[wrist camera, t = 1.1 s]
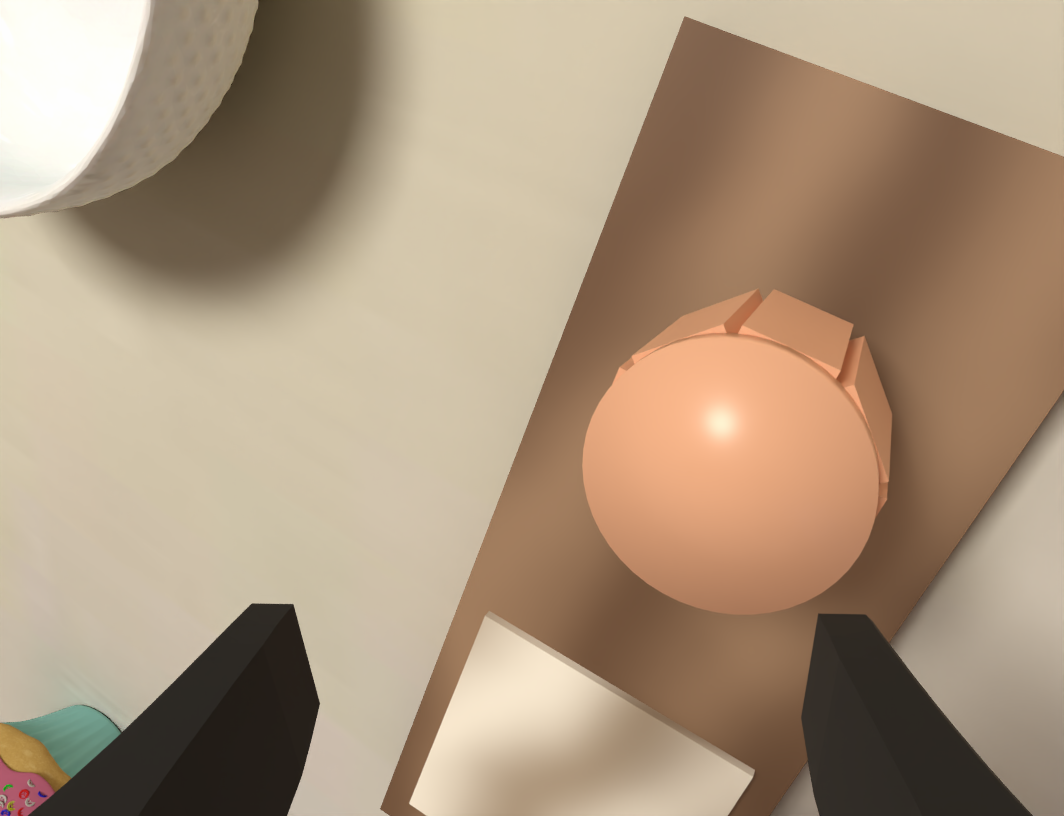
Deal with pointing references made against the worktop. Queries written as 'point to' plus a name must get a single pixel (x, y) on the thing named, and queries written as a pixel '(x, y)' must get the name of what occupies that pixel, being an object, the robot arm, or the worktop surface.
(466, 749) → the board
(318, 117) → the worktop surface
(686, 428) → the cap
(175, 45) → the cereal bowl
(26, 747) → the cupcake
